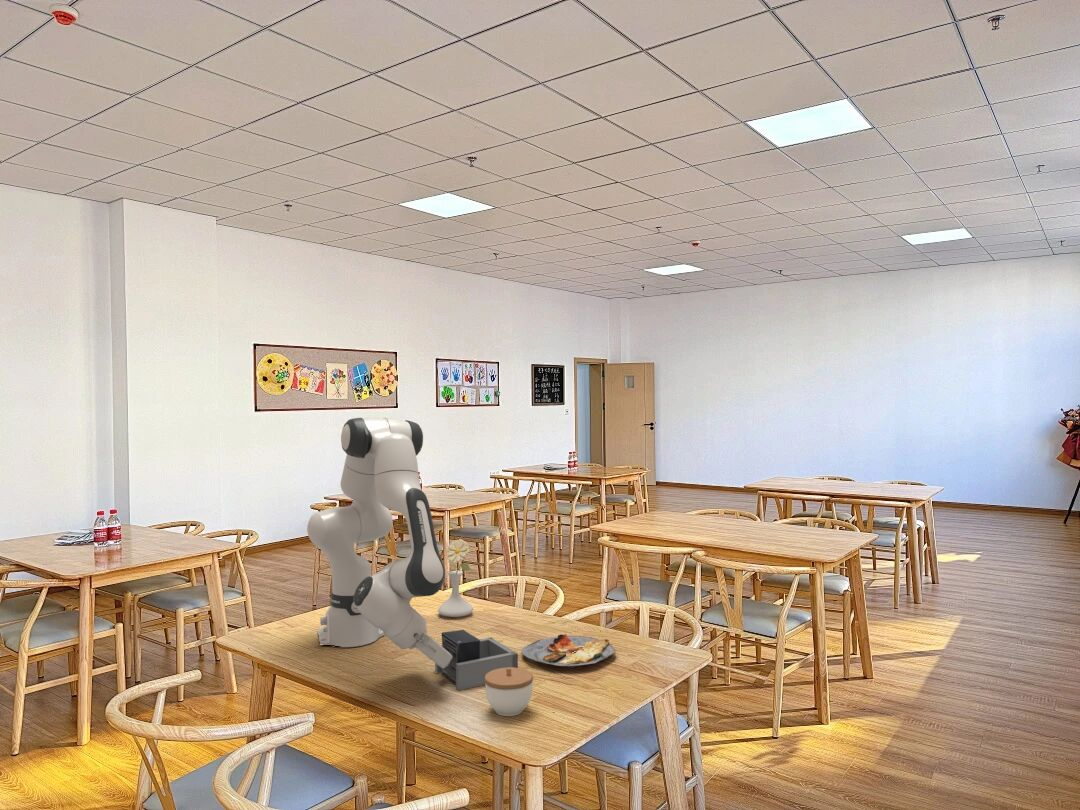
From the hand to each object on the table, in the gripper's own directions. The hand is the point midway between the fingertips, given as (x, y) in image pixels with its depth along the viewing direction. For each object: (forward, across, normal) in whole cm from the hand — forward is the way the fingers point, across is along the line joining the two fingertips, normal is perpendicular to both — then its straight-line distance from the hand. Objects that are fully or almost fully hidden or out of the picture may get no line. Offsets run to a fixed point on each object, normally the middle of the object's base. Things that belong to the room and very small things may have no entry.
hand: (446, 663), depth 183 cm
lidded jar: (+7, -24, 0) cm, 25 cm away
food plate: (+28, -1, -21) cm, 35 cm away
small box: (+6, 0, 0) cm, 6 cm away
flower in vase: (+21, +51, -14) cm, 57 cm away
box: (+9, 0, -3) cm, 9 cm away
